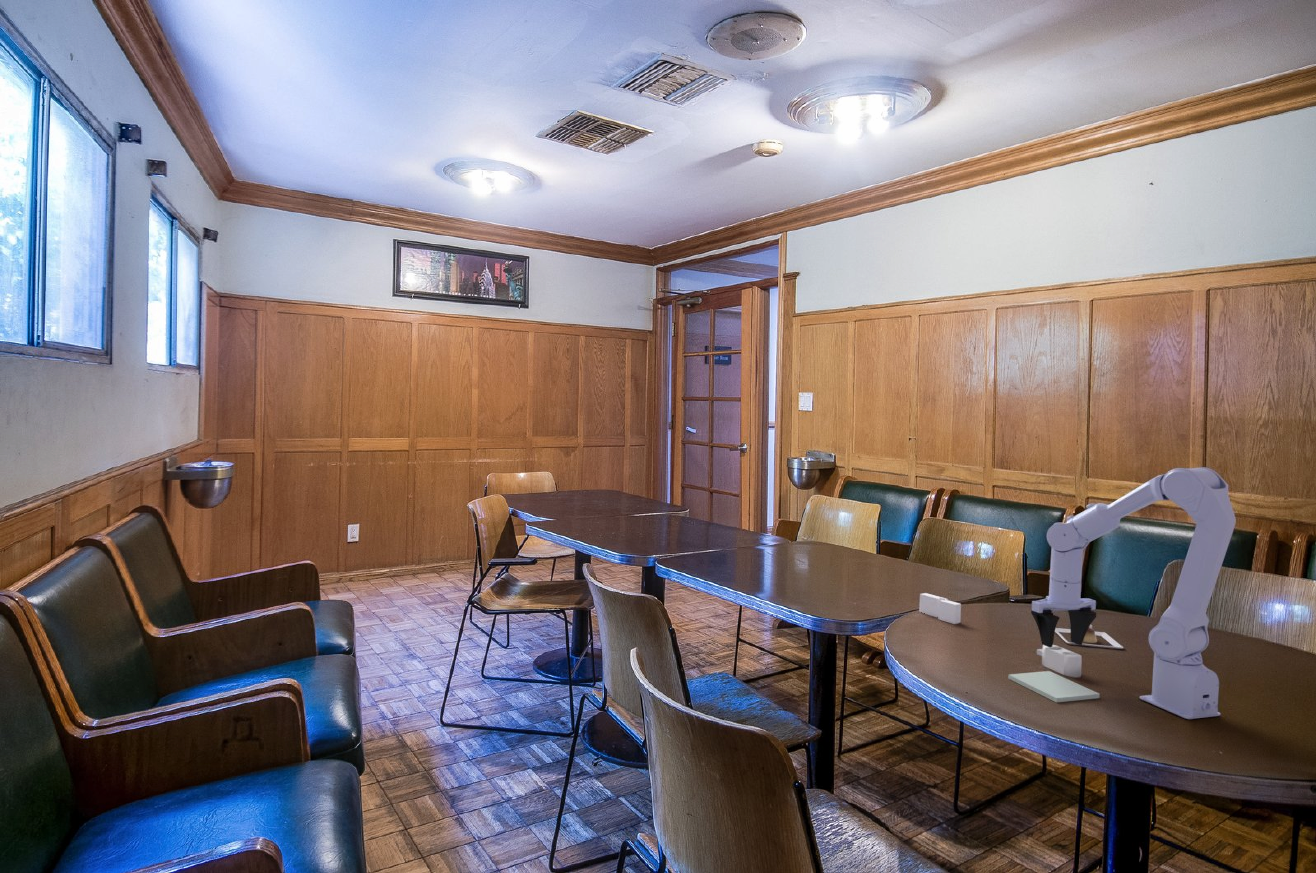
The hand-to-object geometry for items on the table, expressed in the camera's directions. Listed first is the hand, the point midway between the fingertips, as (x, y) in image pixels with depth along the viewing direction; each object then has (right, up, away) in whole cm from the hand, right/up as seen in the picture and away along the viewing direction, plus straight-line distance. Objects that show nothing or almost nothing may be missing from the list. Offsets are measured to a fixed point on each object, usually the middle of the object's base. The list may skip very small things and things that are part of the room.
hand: (1061, 644), depth 150 cm
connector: (0, -5, 0) cm, 5 cm away
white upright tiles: (-11, -4, +36) cm, 38 cm away
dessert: (+18, -6, +21) cm, 28 cm away
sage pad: (-8, -6, -10) cm, 14 cm away
